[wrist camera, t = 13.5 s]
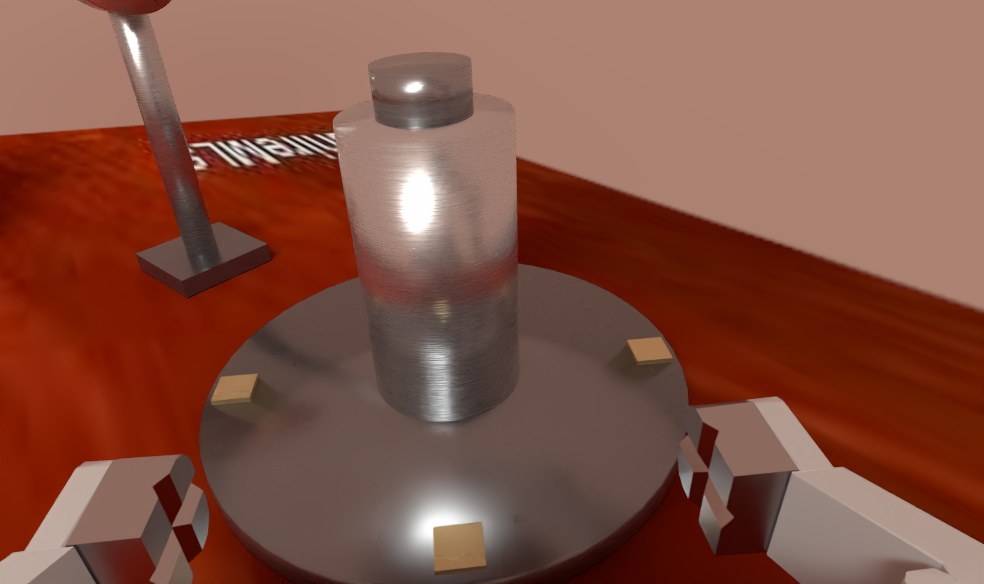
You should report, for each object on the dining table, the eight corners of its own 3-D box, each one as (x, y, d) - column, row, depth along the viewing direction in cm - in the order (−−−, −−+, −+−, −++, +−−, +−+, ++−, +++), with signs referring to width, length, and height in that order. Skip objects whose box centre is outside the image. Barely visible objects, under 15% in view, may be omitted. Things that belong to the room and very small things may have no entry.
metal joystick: (141, 269, 35) (-4, -117, 25) (223, 236, 38) (121, -117, 29) (187, 297, 32) (43, -124, 23) (271, 259, 35) (176, -123, 26)
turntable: (611, 267, 33) (613, 243, 32) (779, 572, 18) (789, 540, 17) (265, 295, 32) (258, 272, 31) (125, 650, 17) (107, 619, 16)
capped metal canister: (510, 326, 27) (502, 40, 21) (530, 413, 22) (527, 77, 16) (380, 338, 26) (334, 50, 20) (373, 429, 22) (310, 91, 16)
